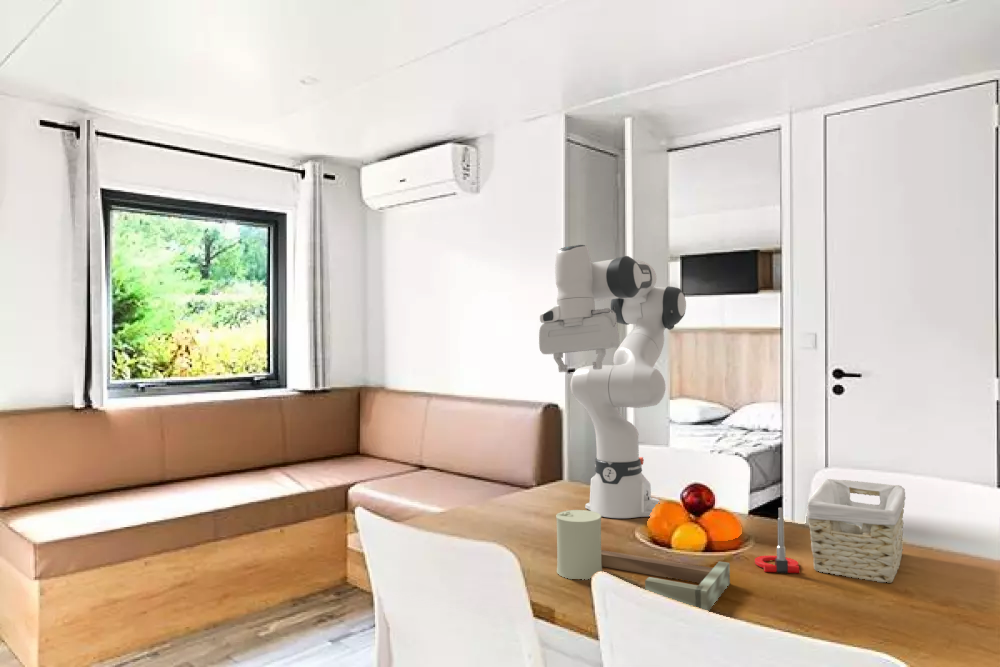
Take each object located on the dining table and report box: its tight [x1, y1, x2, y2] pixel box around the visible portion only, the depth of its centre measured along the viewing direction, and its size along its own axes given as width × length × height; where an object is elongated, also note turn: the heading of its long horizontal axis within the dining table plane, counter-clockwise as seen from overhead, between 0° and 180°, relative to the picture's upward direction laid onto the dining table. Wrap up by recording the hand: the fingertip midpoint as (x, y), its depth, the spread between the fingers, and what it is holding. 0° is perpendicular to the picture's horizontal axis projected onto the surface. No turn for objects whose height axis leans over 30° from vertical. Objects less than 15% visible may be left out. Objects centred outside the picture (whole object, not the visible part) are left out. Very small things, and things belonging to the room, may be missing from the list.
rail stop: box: [601, 549, 731, 612], centre depth 138 cm, size 16×30×4 cm, turn 59°
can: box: [555, 509, 603, 581], centre depth 145 cm, size 9×9×12 cm
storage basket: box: [806, 478, 906, 584], centre depth 148 cm, size 24×16×15 cm
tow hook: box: [754, 507, 800, 574], centre depth 147 cm, size 8×13×9 cm
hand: (580, 370), depth 168 cm, fingers open, 8 cm apart
